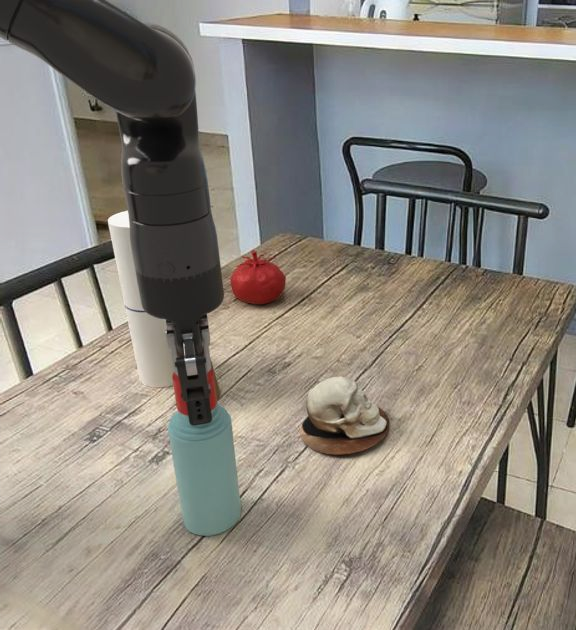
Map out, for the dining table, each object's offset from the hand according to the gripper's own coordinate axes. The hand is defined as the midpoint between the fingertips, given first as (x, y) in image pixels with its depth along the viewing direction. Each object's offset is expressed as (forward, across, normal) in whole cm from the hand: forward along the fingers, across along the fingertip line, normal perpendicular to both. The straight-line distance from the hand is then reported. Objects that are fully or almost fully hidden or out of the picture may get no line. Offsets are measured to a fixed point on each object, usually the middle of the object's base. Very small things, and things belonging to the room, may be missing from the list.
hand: (200, 409), depth 71 cm
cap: (-1, 0, 0) cm, 1 cm away
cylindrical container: (+15, +32, +5) cm, 36 cm away
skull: (+15, +11, -18) cm, 26 cm away
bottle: (+15, 0, 0) cm, 15 cm away
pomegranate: (+15, +54, -12) cm, 58 cm away
